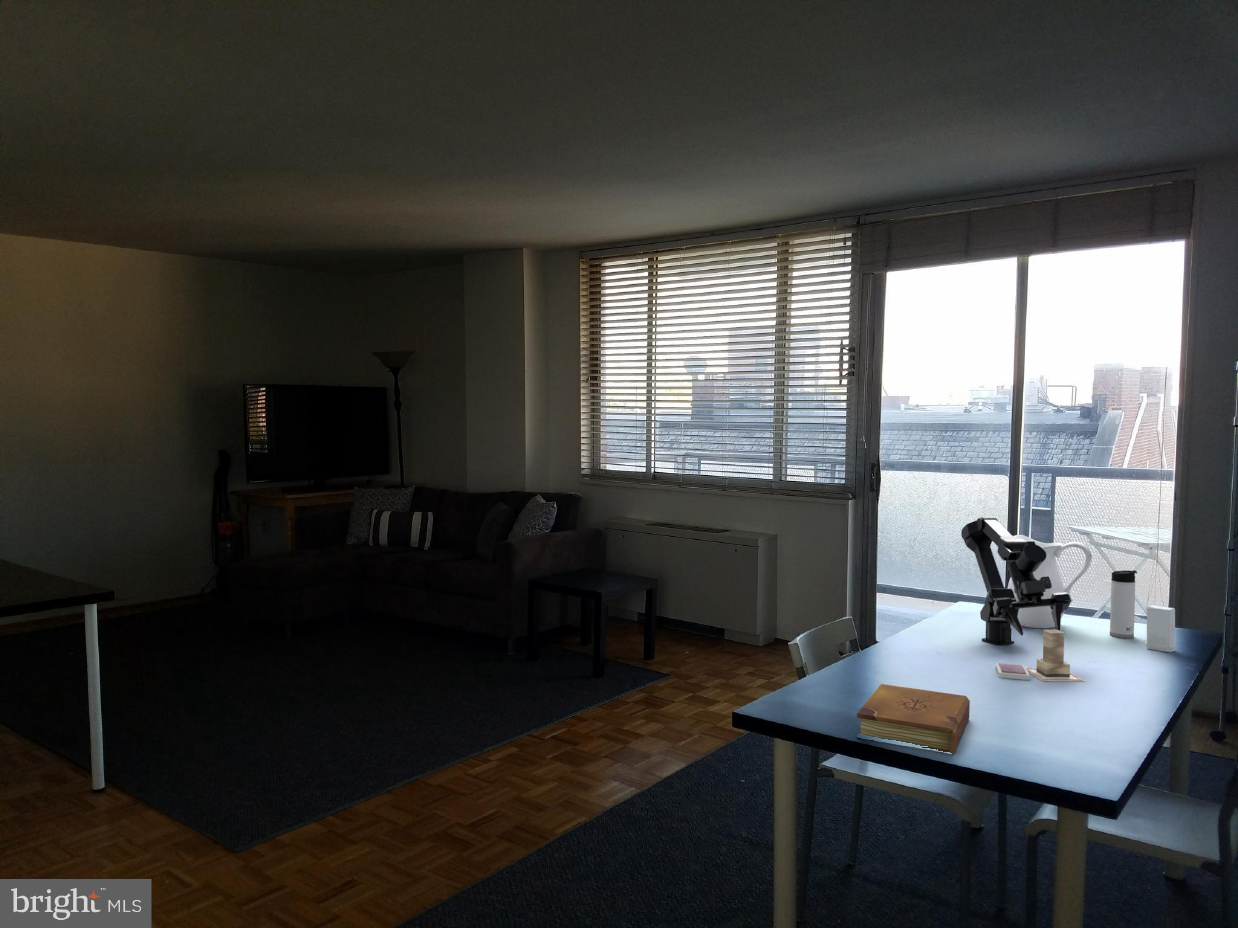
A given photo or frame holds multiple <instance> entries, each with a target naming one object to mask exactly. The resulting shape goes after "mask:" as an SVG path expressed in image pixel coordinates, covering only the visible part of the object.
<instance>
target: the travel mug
mask: <svg viewBox="0 0 1238 928" xmlns="http://www.w3.org/2000/svg"><path fill="white" fill-rule="evenodd" d="M1136 574H1138V571H1137V570H1135V569H1133V570H1115V571H1112V572H1111V579H1110V580H1111V583H1110V586H1111V587H1110V608H1109V609H1110V614H1109V615H1110V617H1109V635H1110V636H1112V637H1113V636H1115V638H1118V637H1119V638H1120V639H1133V638H1134V636H1135V611H1136V610H1135V609H1136V606H1135V603H1136ZM1119 638H1118V639H1119Z"/></svg>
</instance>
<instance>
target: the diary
mask: <svg viewBox="0 0 1238 928" xmlns="http://www.w3.org/2000/svg"><path fill="white" fill-rule="evenodd" d="M970 704H971V700H970V699H969V698H968V697H967V695H964V694H963V695H961V694H955V693H949V692H942V691H934V690H929V689H928V690H926V689H920V688H915V687H908V686H907V687H905V686H899V685H892V684H885V683H881V684H879V685H878V687H877V688H876V690H875V691H874V692H873V693H872V695H870V696H869V698H868V699H867V701H866V702H865V703H864V704H863V705H862V707H861V708H860V709H859V710H858V712H857V713H856V718H857V719H860V728H859V729H860V731H859V732H860V734H861V735H865V736H871V737H878V738H881V739H888V740H896V741H901V742H906V743H912V744H915V745H920V746H928V747H922V748H930V749H936V750H937V749H938V751H943V752H950V753H954V754H956V751H957V748H958V746H959V744H960V741H961V739H962V736H963V734H964V732H965V729H966V727H967V724H968V722H969V720H970V710H971V709H970V707H971V706H970Z"/></svg>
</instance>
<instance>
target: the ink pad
mask: <svg viewBox="0 0 1238 928" xmlns="http://www.w3.org/2000/svg"><path fill="white" fill-rule="evenodd" d="M994 667H995V671H996V673H997V675H998V678H999V679H1000V678H1001V679H1012V680H1024V681H1030V680H1031V679H1030V678H1031V676H1030V675H1031V674H1030V673H1028V671H1027V669H1026V668H1027V667H1026V665H1022V664H1013V663H995V666H994Z"/></svg>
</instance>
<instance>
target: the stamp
mask: <svg viewBox="0 0 1238 928" xmlns="http://www.w3.org/2000/svg"><path fill="white" fill-rule="evenodd" d="M1042 640H1043V644H1042V646H1043V647H1042V658H1037V659H1036V666H1035V668H1036V672H1038V673H1040V674H1041V675H1043V676H1045V677H1070V672H1071V664H1070V663H1068V662H1066V661H1065V660H1064V659H1065V658H1064V656H1065V655H1064V653H1065V633H1064V632H1063V631H1061V630H1060V631H1059V630H1056V629H1043V639H1042Z"/></svg>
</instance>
